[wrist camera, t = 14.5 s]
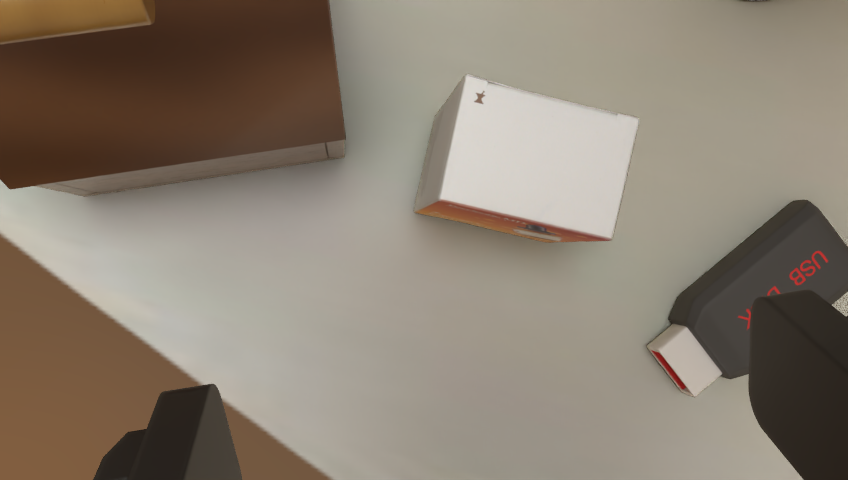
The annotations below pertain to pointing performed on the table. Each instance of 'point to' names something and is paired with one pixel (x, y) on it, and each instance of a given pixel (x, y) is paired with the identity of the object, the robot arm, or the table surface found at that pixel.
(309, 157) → the chest
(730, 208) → the table surface
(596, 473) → the table surface
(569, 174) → the small box
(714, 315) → the usb drive
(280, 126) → the lid
